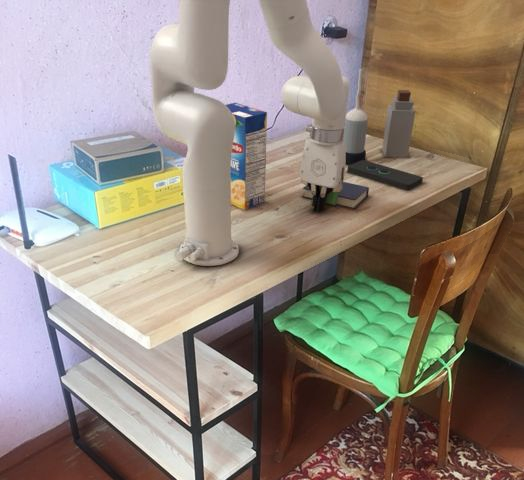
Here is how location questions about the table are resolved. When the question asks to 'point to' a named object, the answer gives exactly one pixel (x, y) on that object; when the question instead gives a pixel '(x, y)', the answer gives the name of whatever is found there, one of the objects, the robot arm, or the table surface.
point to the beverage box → (248, 156)
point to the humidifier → (355, 130)
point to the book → (346, 195)
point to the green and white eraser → (331, 197)
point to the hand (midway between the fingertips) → (318, 210)
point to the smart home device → (385, 174)
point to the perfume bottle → (399, 126)
